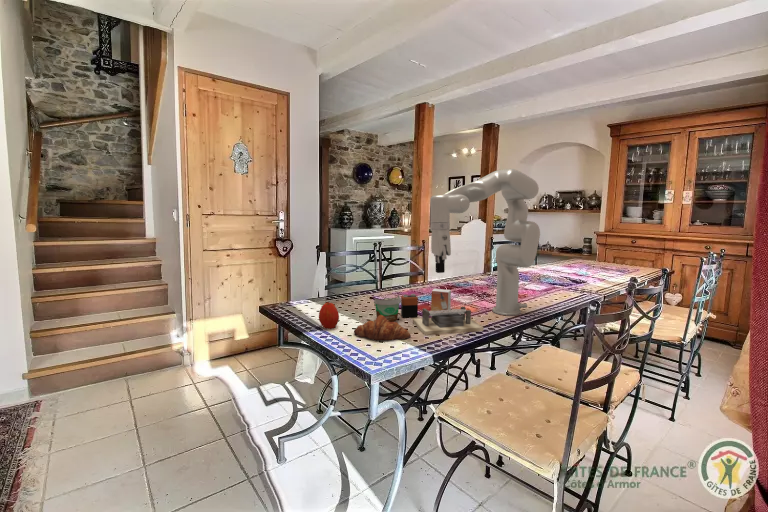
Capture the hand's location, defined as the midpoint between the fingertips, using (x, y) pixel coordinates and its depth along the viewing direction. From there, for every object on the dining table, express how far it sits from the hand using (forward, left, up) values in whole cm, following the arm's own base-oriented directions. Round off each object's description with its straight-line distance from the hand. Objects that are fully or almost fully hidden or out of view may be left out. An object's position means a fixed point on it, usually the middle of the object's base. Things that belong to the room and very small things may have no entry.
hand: (440, 272), depth 148 cm
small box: (-8, -18, -23) cm, 30 cm away
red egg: (+44, -7, -22) cm, 50 cm away
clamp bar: (-3, +2, -17) cm, 17 cm away
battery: (+8, -15, -22) cm, 28 cm away
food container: (+18, -10, -22) cm, 31 cm away
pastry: (+25, +7, -23) cm, 35 cm away
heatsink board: (-3, +2, -22) cm, 22 cm away
